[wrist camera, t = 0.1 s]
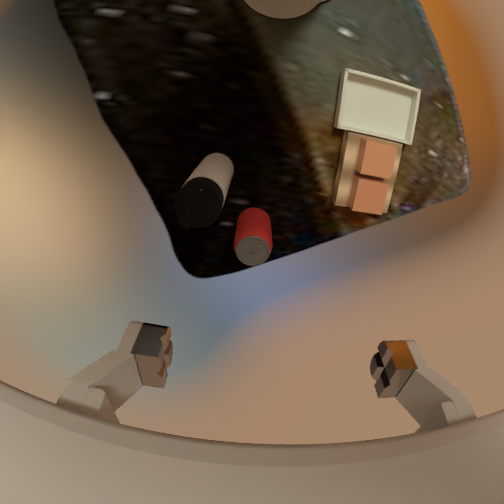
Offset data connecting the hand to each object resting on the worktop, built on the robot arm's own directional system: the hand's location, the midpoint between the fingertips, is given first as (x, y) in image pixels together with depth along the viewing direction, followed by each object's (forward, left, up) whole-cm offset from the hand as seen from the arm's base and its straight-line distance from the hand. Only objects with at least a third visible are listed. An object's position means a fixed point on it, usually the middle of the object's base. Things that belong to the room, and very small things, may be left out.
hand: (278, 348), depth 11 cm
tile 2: (-1, +20, -45) cm, 49 cm away
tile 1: (+6, +20, -45) cm, 50 cm away
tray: (-10, +20, -48) cm, 53 cm away
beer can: (+16, 0, -48) cm, 51 cm away
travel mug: (+6, -8, -48) cm, 49 cm away
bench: (+3, +20, -48) cm, 52 cm away
